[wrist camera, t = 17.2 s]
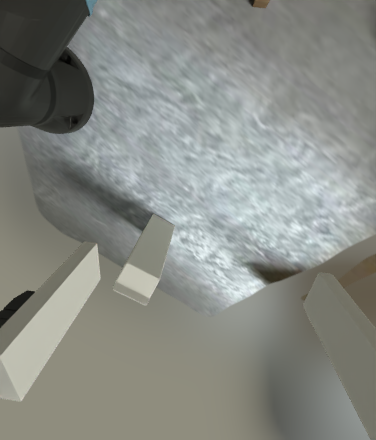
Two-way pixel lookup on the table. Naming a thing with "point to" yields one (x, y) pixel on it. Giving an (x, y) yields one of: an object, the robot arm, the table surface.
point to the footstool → (260, 3)
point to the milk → (145, 261)
